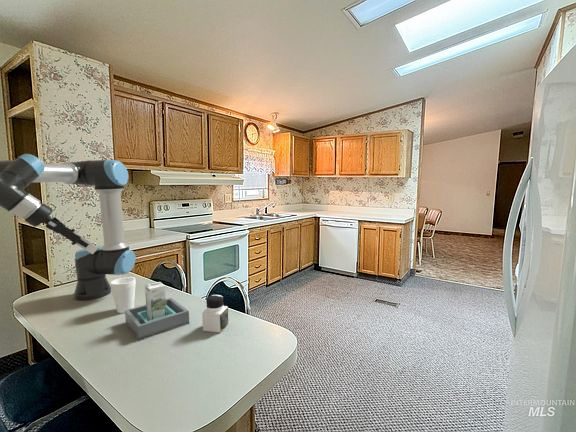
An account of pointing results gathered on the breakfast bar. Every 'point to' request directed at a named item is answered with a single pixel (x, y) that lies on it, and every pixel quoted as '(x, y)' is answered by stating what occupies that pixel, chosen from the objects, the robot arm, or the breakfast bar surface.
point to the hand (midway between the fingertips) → (91, 247)
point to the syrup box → (155, 300)
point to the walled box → (145, 328)
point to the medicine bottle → (215, 314)
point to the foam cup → (123, 293)
